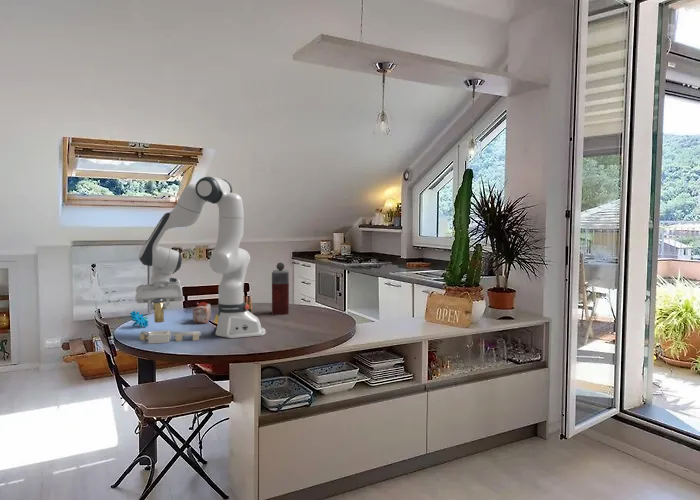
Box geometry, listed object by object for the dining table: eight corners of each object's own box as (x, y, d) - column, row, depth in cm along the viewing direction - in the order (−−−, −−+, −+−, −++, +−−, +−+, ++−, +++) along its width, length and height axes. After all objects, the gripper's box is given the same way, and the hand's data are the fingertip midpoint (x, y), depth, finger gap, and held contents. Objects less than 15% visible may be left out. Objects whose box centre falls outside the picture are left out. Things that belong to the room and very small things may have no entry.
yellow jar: (164, 320, 240) (163, 298, 239) (163, 322, 236) (162, 299, 235) (155, 321, 239) (154, 299, 238) (153, 322, 235) (152, 300, 234)
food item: (208, 324, 264) (208, 304, 263) (191, 324, 263) (191, 304, 262) (212, 318, 277) (211, 299, 277) (196, 318, 276) (196, 300, 276)
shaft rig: (201, 336, 236) (201, 329, 236) (200, 341, 228) (200, 333, 228) (151, 339, 232) (151, 331, 232) (148, 343, 224) (148, 335, 224)
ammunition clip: (252, 318, 279) (252, 295, 278) (251, 318, 277) (251, 296, 276) (232, 317, 279) (232, 295, 278) (231, 318, 277) (231, 295, 276)
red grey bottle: (289, 310, 300) (289, 261, 298) (288, 314, 289) (288, 263, 287) (273, 310, 299) (272, 261, 297) (272, 314, 288) (271, 263, 286)
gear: (140, 326, 250) (128, 310, 252) (131, 334, 251) (120, 318, 253) (154, 324, 261) (142, 309, 263) (146, 332, 262) (135, 317, 264)
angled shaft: (152, 338, 232) (152, 331, 232) (147, 340, 229) (147, 332, 228) (145, 338, 233) (145, 330, 233) (139, 340, 230) (139, 332, 230)
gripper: (135, 280, 241) (132, 305, 232) (182, 278, 245) (181, 303, 236) (138, 289, 246) (134, 314, 237) (184, 287, 250) (182, 311, 241)
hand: (158, 308), depth 236 cm, fingers closed on yellow jar, 4 cm apart
